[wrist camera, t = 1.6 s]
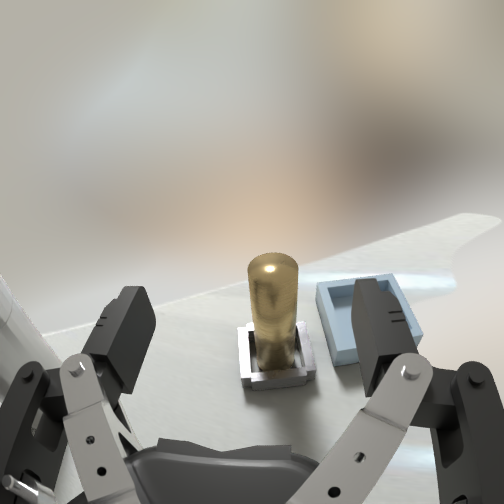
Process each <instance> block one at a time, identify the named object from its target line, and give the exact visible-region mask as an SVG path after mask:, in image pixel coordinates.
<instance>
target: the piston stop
mask: <svg viewBox="0 0 504 504" xmlns="http://www.w3.org/2000/svg"><path fill="white" fill-rule="evenodd" d="M248 279H249V289H250V299H251V309H252V318H253V328H254V337H255V347H256V356H257V363H258V366H259V367H260V368H261V369H262V370H263V371H264V372H267V371H276V370H285V369H290V368H291V367H292V365H293V362H294V351H295V333H296V314H297V290H298V265H297V263H296V261H295V260H294V259H293V258H291V257H290V256H288V255H285V254H282V253H266V254H262V255H260V256H258V257H256V258H254V259H253V260H252V261H251V262H250V264H249V266H248Z"/></svg>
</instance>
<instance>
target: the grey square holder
mask: <svg viewBox="0 0 504 504" xmlns="http://www.w3.org/2000/svg"><path fill="white" fill-rule="evenodd" d="M238 336H239V354H240V372H241V381H242V386H243V387H252V388H253V391H256V390H266V389H276V388H284V387H293V386H300V385H306V380H313V379H315V374H316V366H315V362H314V357H313V353H312V348H311V344H310V340H309V335H308V331H307V327H306V322H305V321H302V322H296V333H295V337H297V342H298V347H299V352H300V357H301V362H302V367H301V368H293V369H285V370H276V371H267V372H256V373H251V362H250V349H249V341H255V337H254V328H253V323H250V324H247V327H245V328H238Z"/></svg>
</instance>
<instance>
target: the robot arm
mask: <svg viewBox="0 0 504 504" xmlns="http://www.w3.org/2000/svg"><path fill="white" fill-rule="evenodd" d="M351 323H352V329H353V334H354V338H355V343H356V348H357V353H358V358H359V363H360V369H361V374H362V379H363V385H364V391H365V396H366V397H371V398H370V400H369V401H368V403H367V404H366V406H365V407H364V408H363V409H361V410H360V411H359V412H358V413H357V415H356V416H355V417H354V419H353V420H352V422H351V423H350V425H349V426H348V427H347V429H346V430H345V432H344V433H343V434H342V436H341V437H340V438H339V440H338V441H337V442H336V444H335V445H334V446H333V448H332V449H331V450H330V452H329V453H328V454H327V456H326V457H325V458H324V459H323V461H322V462H321V463H320V464H319V463H318V462H316V461H314V460H312V459H310V458H308V457H305V456H302V455H299V454H294V453H291V445H277V446H258V445H257V446H252V447H247V448H242V449H236V450H231V451H225V452H220V451H216V450H213V449H210V448H206V447H203V446H200V445H197V444H194V443H192V442H188V441H179V440H170V439H163V438H159V440H158V444H157V446H153V447H149V448H145V449H144V448H143V447H142V445H141V444H140V443H139V441H138V439H137V438H136V436H135V433H134V431H133V429H132V427H131V424H130V422H129V420H128V418H127V415H126V413H125V411H124V408H123V406H122V403H121V401H120V400H119V397H120V395H121V393H125V394H132V392H133V389H134V386H135V383H136V380H137V378H138V375H139V372H140V369H141V366H142V363H143V361H144V358H145V355H146V352H147V349H148V347H149V344H150V341H151V339H152V336H153V333H154V331H155V327H156V318H155V314H154V311H153V308H152V306H151V303H150V301H149V298H148V295H147V292H146V290H145V288H144V287H143V286H125V287H124V288H123V289H122V291H121V293H120V295H119V296H118V298H117V299H113V300H112V301H111V302H110V303H109V304H108V305H107V306H106V307H105V308H104V310H103V312H102V314H101V316H100V319H98V321H97V323H96V326H95V327H94V329H93V330H92V332H91V334H90V336H89V338H88V340H87V342H86V344H85V346H84V348H83V350H82V352H81V354H75V355H72V356H70V357H69V358H67V359H66V360H65V361H64V362H63V363H62V361H61V360H60V359H59V358H58V356H57V355H56V354H55V352H54V351H53V350H52V349H51V347H50V346H49V345H48V343H47V342H46V341H45V339H44V338H43V337H42V335H41V334H40V333H39V331H38V330H37V329H36V327H35V326H34V324H33V323H32V322H31V320H30V319H29V317H28V316H27V314H26V313H25V311H24V310H23V308H22V307H21V306H20V304H19V302H18V301H17V299H16V298H15V296H14V295H13V293H12V291H11V290H10V289H9V287H8V285H7V284H6V282H5V280H4V279H3V277H2V275H1V274H0V402H1V403H2V405H1V407H0V504H58V503H57V502H56V497H55V495H54V493H53V492H54V488H55V484H56V481H57V477H58V473H59V470H60V466H61V463H62V459H63V456H64V452H65V449H66V446H67V442H69V446H70V449H71V453H72V456H73V460H74V463H75V466H76V469H77V472H78V475H79V478H80V481H81V484H82V487H83V489H84V491H83V492H82V493H81V494H79V495H78V496H77V497H75V498H74V499H73V500H71V501H70V502H68V503H67V504H362V503H363V501H364V500H365V499H366V497H367V496H368V494H369V493H370V491H371V490H372V488H373V487H374V486H375V484H376V483H377V481H378V479H379V478H380V476H381V475H382V473H383V472H384V470H385V469H386V467H387V465H388V464H389V462H390V460H391V459H392V457H393V455H394V454H395V452H396V450H397V449H398V447H399V445H400V443H401V441H402V440H403V438H404V436H405V434H406V432H407V429H408V427H409V425H410V426H417V427H425V428H430V432H431V438H432V444H433V450H434V457H435V464H436V472H437V480H438V489H439V499H440V504H504V409H503V405H502V402H501V399H500V396H499V393H498V390H497V387H496V385H495V382H494V379H493V376H492V374H491V372H490V370H489V369H488V368H487V367H486V366H484V365H483V364H482V363H479V362H475V361H469V362H466V363H464V364H462V365H461V366H460V367H459V369H458V370H457V371H454V370H446V369H439V368H435V367H433V366H431V364H430V362H429V361H428V360H427V359H426V358H424V357H423V356H421V355H419V353H418V350H417V347H416V345H415V342H414V339H413V336H412V333H411V331H410V328H409V325H408V323H407V321H406V317H405V315H404V312H403V310H402V307H401V305H400V302H399V300H398V299H397V298H396V297H395V296H394V295H393V294H392V293H391V292H390V291H381V290H380V287H379V284H378V282H377V279H376V278H366V279H356V280H355V284H354V292H353V300H352V308H351ZM31 427H32V428H34V429H36V432H35V435H34V437H33V435H32V432H31Z"/></svg>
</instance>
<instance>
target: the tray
mask: <svg viewBox="0 0 504 504" xmlns="http://www.w3.org/2000/svg"><path fill="white" fill-rule="evenodd" d="M366 278H376V279H377V282H378V284H379V287H380V290H381V291H390V292H391V293H392V294H393V295H394V296H395V297H396V298H397V299H398V300H399V302H400V305H401V307H402V310H403V312H404V315H405V317H406V321H407V323H408V325H409V328H410V331H411V333H412V336H413V339H414V342H415V345H416V347H417V346H418V344H419V342H420V340H421V338H422V336H423V332H422V331H421V328H420V326H419V324H418V322H417V320H416V318H415V316H414V314H413V312H412V310H411V308H410V306H409V304H408V302H407V300H406V298H405V296H404V294H403V292H402V291H401V289H400V287H399V285H398V283H397V281H396V279H395V277H394V276H393V274H392V273H391V274H384V275H376V276H368V277H360V278H352V279H344V280H336V281H327V282H319V283H317V289H316V304H317V307H318V311H319V314H320V318H321V321H322V325H323V329H324V332H325V336H326V340H327V344H328V347H329V351H330V355H331V359H332V363H333V366H340V365H346V364H352V363H358V362H359V358H358V353H357V348H356V343H355V338H354V334H353V329H352V323H351V308H352V300H353V292H354V284H355V280H356V279H366Z"/></svg>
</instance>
